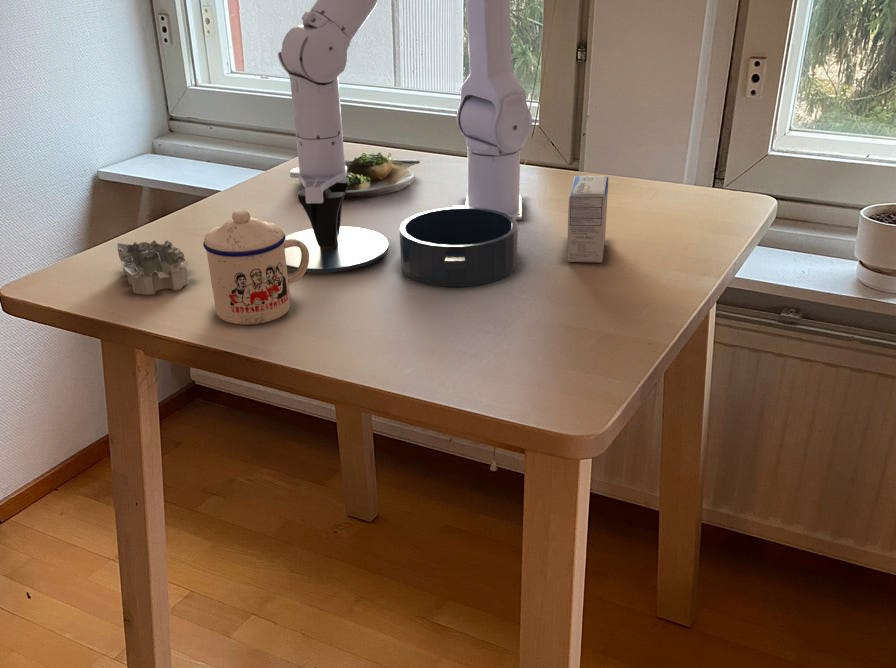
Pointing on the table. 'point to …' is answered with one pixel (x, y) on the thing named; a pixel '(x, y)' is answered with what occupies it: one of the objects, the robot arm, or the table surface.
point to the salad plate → (376, 175)
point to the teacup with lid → (251, 269)
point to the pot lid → (338, 250)
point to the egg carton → (153, 266)
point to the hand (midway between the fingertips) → (328, 241)
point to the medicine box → (587, 219)
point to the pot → (458, 246)
